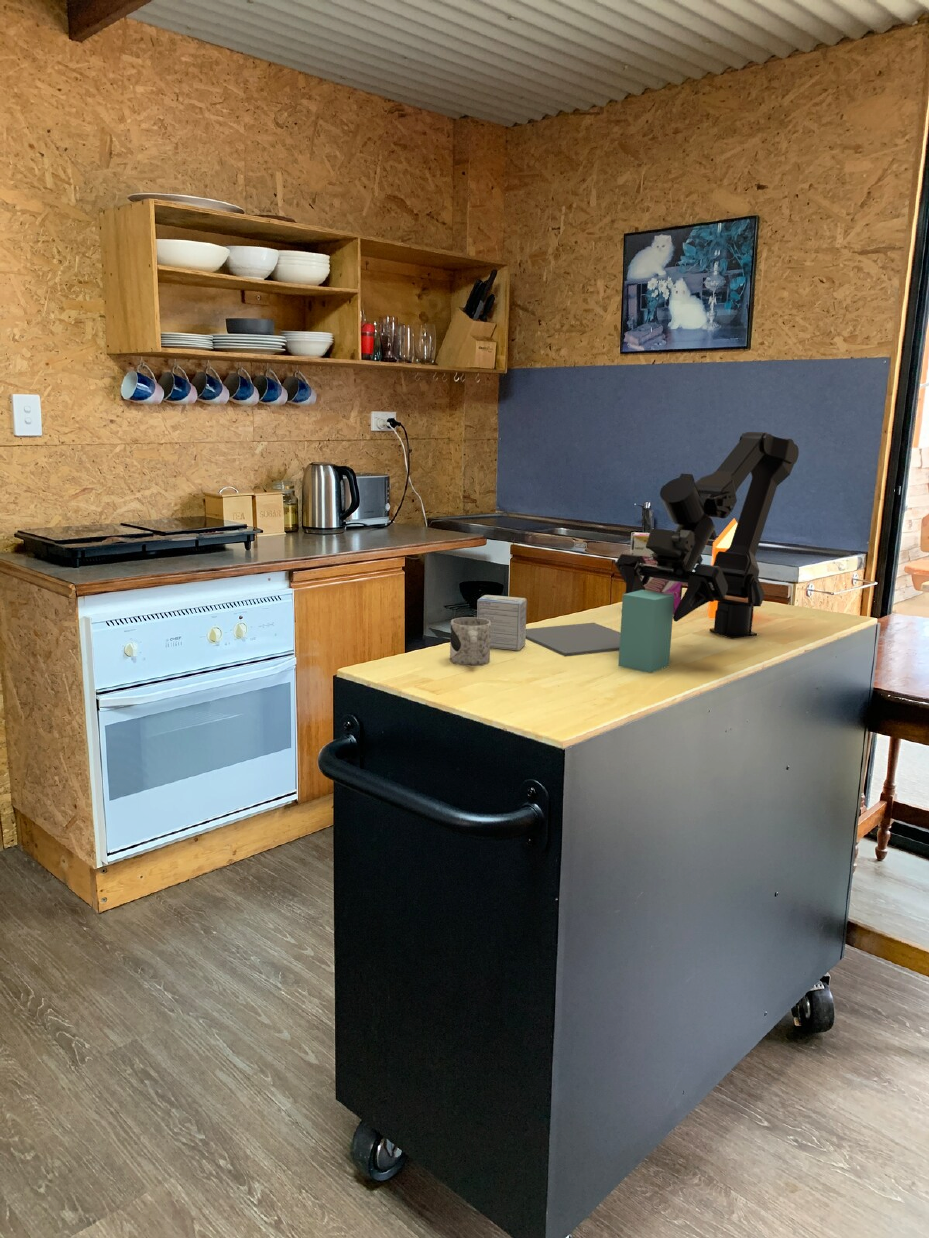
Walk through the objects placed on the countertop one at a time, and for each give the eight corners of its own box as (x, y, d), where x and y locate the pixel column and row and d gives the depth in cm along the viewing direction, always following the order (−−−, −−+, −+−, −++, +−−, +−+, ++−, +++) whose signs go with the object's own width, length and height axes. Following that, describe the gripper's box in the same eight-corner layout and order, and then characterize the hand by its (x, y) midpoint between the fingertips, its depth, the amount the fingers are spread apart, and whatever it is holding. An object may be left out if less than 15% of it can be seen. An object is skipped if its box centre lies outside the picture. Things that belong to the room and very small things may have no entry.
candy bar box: (626, 613, 193) (631, 534, 190) (625, 608, 198) (630, 531, 195) (681, 615, 192) (687, 536, 189) (678, 610, 197) (684, 533, 194)
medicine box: (525, 645, 165) (527, 598, 163) (519, 651, 161) (520, 602, 159) (483, 641, 167) (484, 594, 165) (475, 646, 163) (477, 598, 161)
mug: (448, 655, 157) (449, 617, 156) (487, 655, 158) (489, 617, 156) (452, 671, 147) (453, 631, 146) (493, 671, 148) (495, 631, 146)
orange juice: (708, 618, 191) (716, 520, 186) (706, 609, 199) (714, 516, 195) (747, 620, 189) (756, 522, 185) (744, 612, 197) (753, 518, 193)
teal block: (637, 659, 158) (642, 589, 155) (669, 666, 154) (674, 595, 151) (618, 665, 153) (622, 594, 151) (650, 673, 149) (655, 600, 147)
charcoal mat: (593, 625, 182) (593, 622, 182) (650, 646, 166) (650, 643, 166) (513, 632, 174) (513, 630, 174) (565, 656, 158) (565, 653, 158)
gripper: (624, 506, 158) (584, 577, 153) (726, 516, 146) (686, 593, 141) (645, 548, 166) (607, 617, 160) (743, 561, 154) (706, 636, 148)
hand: (649, 615), depth 152 cm, fingers open, 9 cm apart
